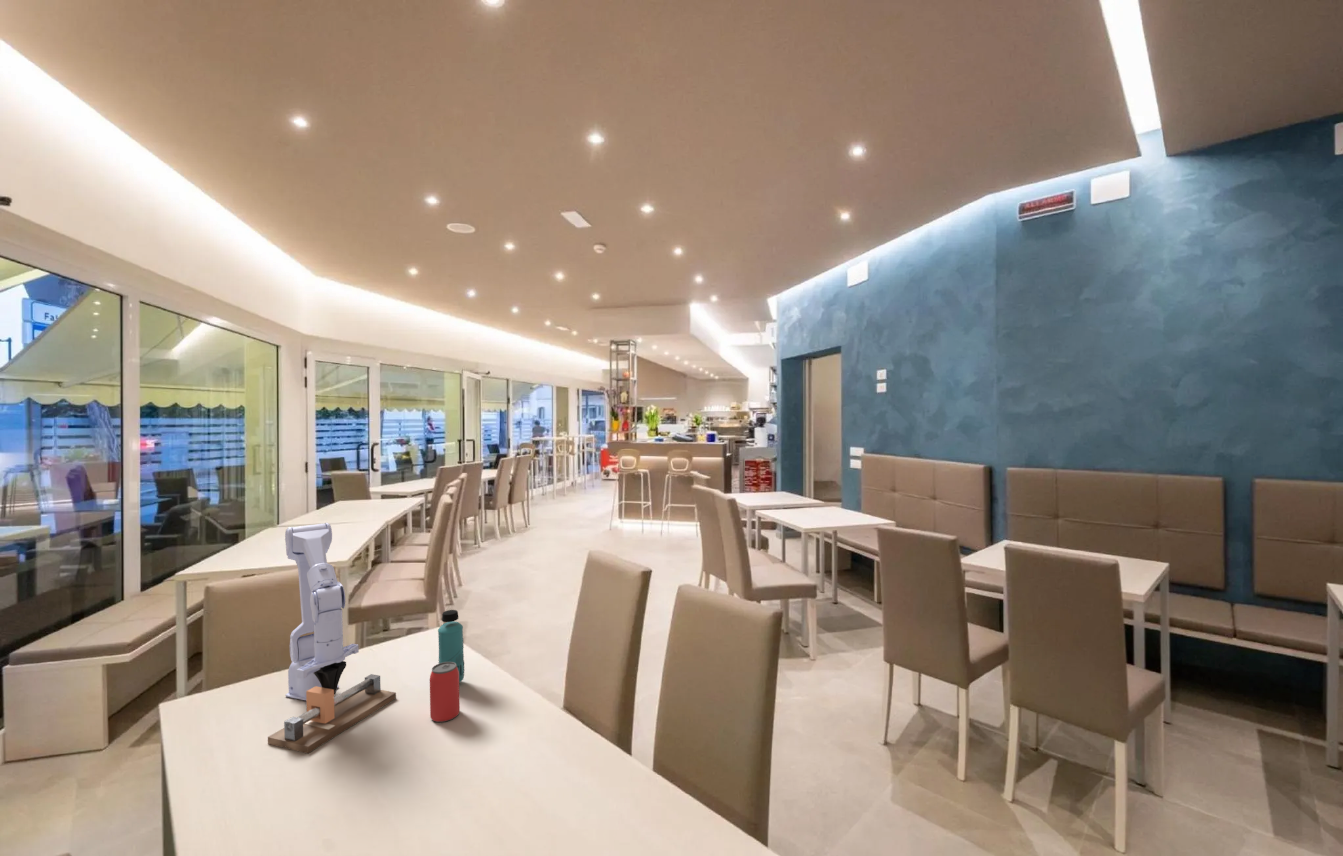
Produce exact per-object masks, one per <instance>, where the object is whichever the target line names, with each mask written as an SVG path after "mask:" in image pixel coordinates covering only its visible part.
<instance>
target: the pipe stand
mask: <svg viewBox="0 0 1343 856" xmlns="http://www.w3.org/2000/svg"><path fill="white" fill-rule="evenodd" d="M363 690H365V693H368V694H373V695H375V694H376V693H378V692H380V691H381V690H382V688H381V675H378V674H373V673H370V674H369V675H366V676H365V677H364V680H363V681H361V682H359V683H357V684H355V685H354V686H352V687H350V688H348V689H346V690H345V691H343V692H341V693H339V694H337V695H336V696H335V695H334V707H335V706H336V705H338V704H340V703H342V702H343V701H345V700H347V699H349V698H351V697H352V696H354V695H356V694H358V693H359V692H361V691H363ZM319 715H320V707H315V708H313V709H312V710H310V711H308V712H307V711H306V712H304V713H302V714H301V715H299V716H297V717H296V716H292V717H290V718H288V719H286V720H284V723H283V724H284V725H283V728H284V733H285V739H286V740H290V741H294V742H295V741H297V740H298V739H300V738H302V737H303V724H305V723H306V722H308V721H310V720H312V719H314V718H315V717H317V716H319Z"/></svg>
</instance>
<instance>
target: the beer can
mask: <svg viewBox="0 0 1343 856" xmlns="http://www.w3.org/2000/svg"><path fill="white" fill-rule="evenodd" d="M429 701H430V702H429V707H430V708H429V709H430V710H429V711H430V715H429V716H430V718H431V720H432V721H433V722H436V723H444V722H445V723H446V722H448V721H452V720H453V719H455V718H457V716H458V715H459V714H460V709H461V706H460V703H461V702H460V682H459V671H458V668H457V664H456V663H454V662H443V663H437V664H435V665H434V666H433V667H432V668H431V673H430V675H429Z"/></svg>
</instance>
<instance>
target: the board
mask: <svg viewBox="0 0 1343 856" xmlns="http://www.w3.org/2000/svg"><path fill="white" fill-rule="evenodd" d="M396 699H397V693H396V692H394V691H389V690H384V689H381V691H380V692H378V693H376V694H375V695H373V694H368V693H365V690H363V691H361V692H359V693H358V694H356V695H354V696H352V697H351V698H349V699H347V700H345V701H343V702H342V703H340V704H338V705H336V706H335V707H334V716H335V718H334V719H332V720H330V721H329V722H327V723H325V724H324V723H320V722H315V721H311V720H310V721H308V722H306V723H305V724H303V737H302V738H300V739H298V740H297V741H295V742H294V741H290V740H286V739H285V733H284V727H283V728H281V729H279V730H278V731H275V732H274V733H272V734H270V735H269V736H267V744H268V745H272V746H277V747H280V748H284V749H288V750H293V751H297V752H300V753H305V754H310V753H311V752H313V751H314V750H316V749H317V748H320V747H321V746H322V745H324V744H325V743H328V742H329V741H330V740H332V739H334V738H335V737H337V736H339V735H340V734H341V733H343V732H345V731H346V730H348V729H350V728H351V727H353V726H354V725H356V724H357V723H359V722H360V721H361V722H362V720H364V719H365V718H367V717H368V716H370V715H372V714H374V713H375V712H376V711H378V710H380V709H381V708H383V707H384V706H386V705H387V704H390V703H391V702H393V701H394V700H396Z"/></svg>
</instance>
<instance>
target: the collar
mask: <svg viewBox="0 0 1343 856" xmlns="http://www.w3.org/2000/svg"><path fill="white" fill-rule="evenodd" d="M334 697H335V695H334V690H333V689H328V688H323V687H317V686H315V687H313V688H311V689H309V690H307V691H306V700H305V701H306V712H308V711H310V710H312V709H313V708H315V707H320V715H319V716H317V717H315V718H314V719H312V720H311V721H315V722H320V723H324V724H325V723H327V722H329V721H330V720H332V719H334V718H335V716H334Z"/></svg>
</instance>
